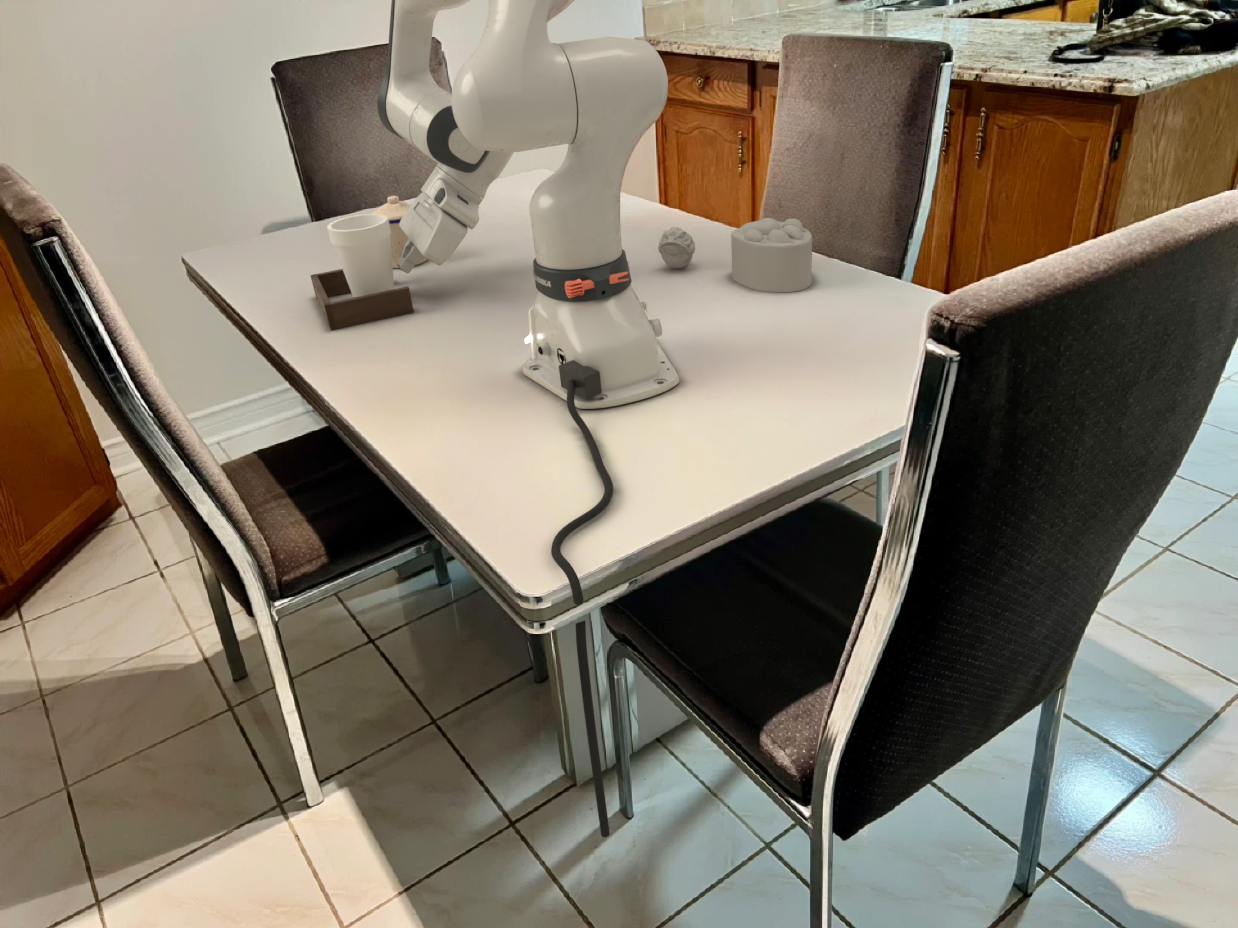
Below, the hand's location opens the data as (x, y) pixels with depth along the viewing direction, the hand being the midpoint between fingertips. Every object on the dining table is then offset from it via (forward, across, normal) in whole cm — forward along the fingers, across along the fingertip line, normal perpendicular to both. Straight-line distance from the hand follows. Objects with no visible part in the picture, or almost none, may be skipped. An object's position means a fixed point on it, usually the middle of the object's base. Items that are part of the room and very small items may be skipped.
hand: (402, 269), depth 153 cm
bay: (+8, 0, -2) cm, 8 cm away
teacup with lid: (+2, -19, +5) cm, 19 cm away
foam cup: (+7, 0, 0) cm, 7 cm away
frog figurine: (-26, +15, +33) cm, 45 cm away
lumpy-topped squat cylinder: (-34, +29, +40) cm, 60 cm away
